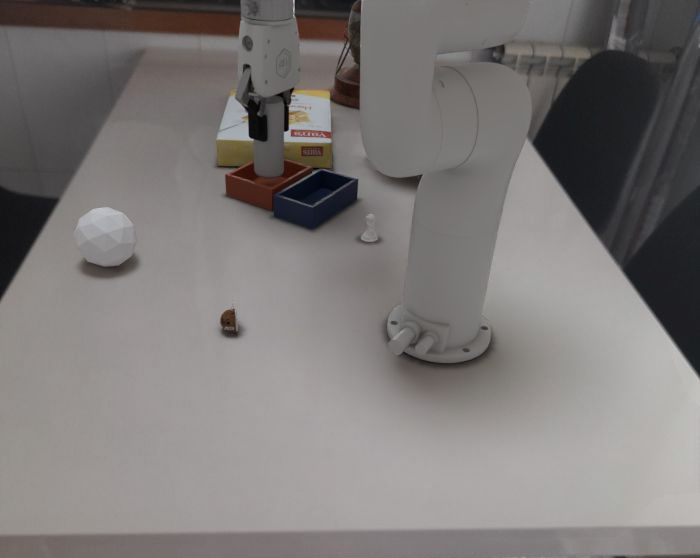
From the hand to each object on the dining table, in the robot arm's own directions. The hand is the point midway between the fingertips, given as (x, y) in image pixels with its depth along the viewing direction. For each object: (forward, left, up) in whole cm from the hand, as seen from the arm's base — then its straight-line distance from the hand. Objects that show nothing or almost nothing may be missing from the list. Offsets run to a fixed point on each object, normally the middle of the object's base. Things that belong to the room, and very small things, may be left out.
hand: (269, 133), depth 112 cm
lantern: (+54, +12, -10) cm, 57 cm away
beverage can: (0, 0, -7) cm, 7 cm away
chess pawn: (-5, -22, -10) cm, 24 cm away
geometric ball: (-32, +3, -10) cm, 33 cm away
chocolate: (-35, -20, -10) cm, 41 cm away
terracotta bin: (0, 0, -10) cm, 10 cm away
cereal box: (+19, +12, -10) cm, 25 cm away
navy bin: (-1, -10, -10) cm, 14 cm away
